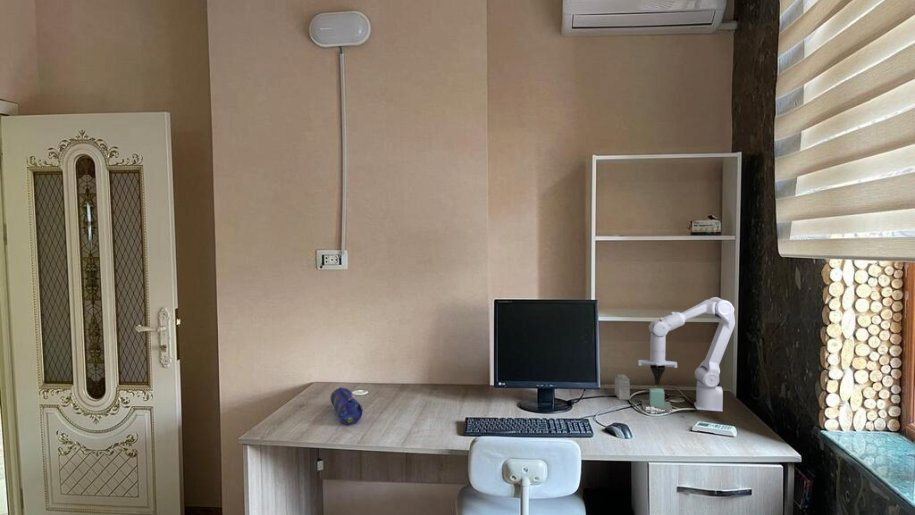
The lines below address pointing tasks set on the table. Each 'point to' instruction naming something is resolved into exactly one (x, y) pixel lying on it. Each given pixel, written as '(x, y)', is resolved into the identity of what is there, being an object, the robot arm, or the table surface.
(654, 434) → the table surface
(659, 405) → the seafoam green cube
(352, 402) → the pencil case
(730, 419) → the table surface
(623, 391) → the medicine box
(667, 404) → the post board
